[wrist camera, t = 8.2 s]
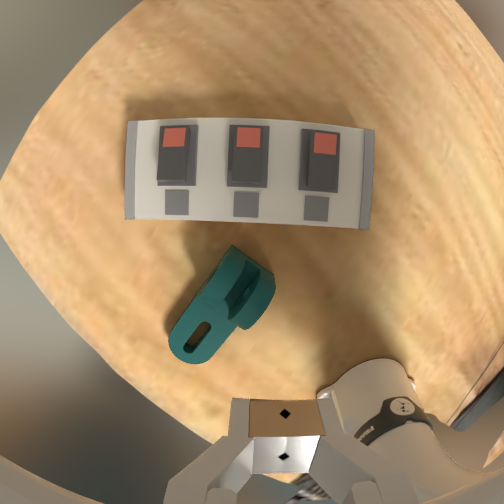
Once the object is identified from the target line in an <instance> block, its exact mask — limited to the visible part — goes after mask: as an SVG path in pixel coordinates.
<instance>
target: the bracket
mask: <svg viewBox="0 0 504 504" xmlns="http://www.w3.org/2000/svg"><path fill="white" fill-rule="evenodd" d="M275 289H276V284H275V279H274V274H272V273H271V272H269V271H268V270H267V269H265V268H264V267H262V266H261V265H260V264H258V263H257V262H255V261H254V260H252V259H251V258H250V257H248V256H247V255H245V254H244V253H243V252H241V251H240V250H238V249H237V248H235V247H234V246H233V245H231V247H230V248H229V250H228V251H227V252H226V254H225V255H224V257H223V258H222V259H221V261H220V262H219V263H218V265H217V266H216V268H215V269H214V270H213V272H212V273H211V275H210V276H209V277H208V279H207V280H206V282H205V283H204V284H203V286H202V287H201V289H200V290H199V291H198V293H197V294H196V296H195V297H194V298H193V300H192V301H191V303H190V304H189V306H188V307H187V308H186V310H185V311H184V313H183V314H182V315H181V317H180V318H179V320H178V321H177V323H176V324H175V326H174V327H173V329H172V331H171V333H170V335H169V339H168V342H169V347H170V349H171V351H172V353H173V354H174V355H175V356H176V357H177V358H178V359H180V360H181V361H183V362H186V363H190V364H201V363H204V362H206V361H208V360H209V359H210V358H211V357H212V356H213V355H214V354H215V352H216V351H217V350H218V349H219V348H220V346H221V345H222V344H223V343H224V342H225V340H226V339H227V338H228V337H229V335H230V334H231V333H232V332H233V331H234V329H235V328H236V327H237V326H239V327H240V328H242V329H244V330H247V329H249V328H250V327H251V326H252V325H254V324H255V323H256V321H257V320H258V319H259V318H260V317H261V315H262V314H263V313H264V311H265V310H266V308H267V307H268V305H269V303H270V302H271V300H272V298H273V295H274V293H275ZM201 322H208V323H209V324H210V325H211V326H210V327H209V329H208V330H207V331H206V333H205V334H204V335H203V336H202V338H201V339H200V340H199V342H198V343H197V344H196V345H195V346H189V345H188V344H187V343H186V342H187V340H188V339H189V338H190V336H191V335H192V334H193V332H194V331H195V330H196V328H197V327H198V326H199V324H200V323H201Z"/></svg>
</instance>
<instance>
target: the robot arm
mask: <svg viewBox="0 0 504 504" xmlns="http://www.w3.org/2000/svg"><path fill="white" fill-rule="evenodd" d="M415 390H416V385H415V383H414V381H412V380H411V379H409V378H408V377H407V374H406V372H405V369H404V368H403V366H402V365H401V364H400V363H398V362H397V361H394V360H391V359H374V360H370V361H366V362H364V363H361V364H359V365H357V366H355V367H354V368H352V369H350V370H349V371H348V372H346V373H345V374H344V375H343V376H342V377H341V378H340V379H339V380H338V381H337V382H335V383H334V384H333V385H331V386H329V387H327V388H325V389H323V390H321V391H320V392H319V393H318V394H317V399H307V400H265V399H250V401H249V399H242V398H232V401H231V411H230V421H229V431H228V436H222V437H221V438H220V439H219V440H218V441H217V442H215V443H214V444H213V445H212V446H211V447H210V448H208V449H207V450H206V451H205V452H204V453H203V454H202V455H200V456H199V457H198V458H197V459H196V460H194V461H193V462H192V463H191V464H190V465H188V466H187V467H186V468H184V469H183V470H182V471H181V472H179V473H178V474H177V475H176V476H174V477H173V478H172V479H170V480H169V483H168V487H167V490H166V494H165V498H164V502H163V504H236V494H237V492H238V491H239V490H240V489H241V488H242V486H243V485H244V484H245V483H246V481H247V480H248V479H249V478H250V476H251V474H269V473H309V475H310V476H311V477H312V478H313V479H314V480H315V481H316V482H317V483H318V484H319V485H320V486H321V487H322V489H323V490H324V491H325V492H326V493H327V494H328V495H329V496H330V497H331V498H332V499H333V500H334V501H335V502H336V503H337V504H504V466H503V467H501V468H499V469H498V470H496V471H494V472H489V473H488V472H477V471H473V470H469V469H466V468H464V467H462V466H461V465H459V464H458V463H456V462H455V461H454V460H453V459H452V458H451V457H450V456H449V455H448V453H447V452H446V451H445V450H444V448H443V447H442V445H441V444H440V443H439V441H438V440H437V438H436V437H435V435H434V434H433V432H432V430H433V429H432V425H431V423H430V420H429V418H428V416H426V414H425V413H424V408H423V406H422V404H421V402H420V400H419V398H418V396H417V394H416V392H415ZM0 504H103V503H100V502H97V501H94V500H91V499H89V498H86V497H83V496H80V495H78V494H76V493H73V492H71V491H68V490H66V489H64V488H61V487H59V486H57V485H54V484H52V483H50V482H48V481H46V480H44V479H42V478H40V477H38V476H36V475H34V474H32V473H30V472H28V471H26V470H25V469H23V468H21V467H19V466H17V465H16V464H14V463H12V462H11V461H9V460H7V459H5V458H4V457H2V456H1V455H0Z"/></svg>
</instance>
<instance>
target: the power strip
mask: <svg viewBox="0 0 504 504" xmlns="http://www.w3.org/2000/svg"><path fill="white" fill-rule="evenodd" d="M174 127H189V128H190V130H191V132H190V141H189V151H188V161H187V172H186V182H159V181H157V180H156V179H157V170H158V161H159V152H160V144H161V137H162V130H163V128H174ZM235 127H262V128H263V151H262V175H261V184H254V183H232V167H233V150H234V133H235ZM310 131H317V132H326V133H334V134H340V137H339V151H338V163H337V174H336V184H335V189H330V188H319V187H308V186H307V173H308V159H309V145H310ZM373 165H374V130H370V129H359V128H353V127H346V126H338V125H330V124H322V123H313V122H303V121H291V120H277V119H259V118H175V119H157V120H143V121H137V120H135V121H128V125H127V140H126V158H125V219H129V220H134V219H156V220H195V221H225V222H249V223H271V224H291V225H309V226H325V227H341V228H355V229H363V230H369V222H370V211H371V199H372V185H373Z"/></svg>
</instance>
